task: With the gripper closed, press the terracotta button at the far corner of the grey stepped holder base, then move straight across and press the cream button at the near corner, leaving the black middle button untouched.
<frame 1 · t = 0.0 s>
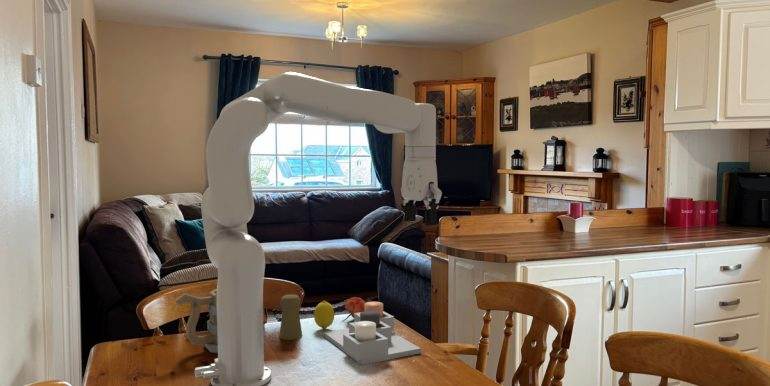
hand: (420, 223, 141), 31 cm above the table, tool pointing down, fingers open, 9 cm apart
cream button: (365, 332, 135), point 6 cm above the table, slide at 0.0 cm
olive green shaker: (290, 336, 151), on the table
lemon: (324, 330, 156), on the table
tankard: (218, 348, 142), on the table
grey stepped holder base: (369, 344, 144), on the table
red flower: (355, 321, 164), on the table
black button: (369, 321, 144), point 6 cm above the table, slide at 0.0 cm
terracotta button: (373, 311, 153), point 6 cm above the table, slide at 0.0 cm
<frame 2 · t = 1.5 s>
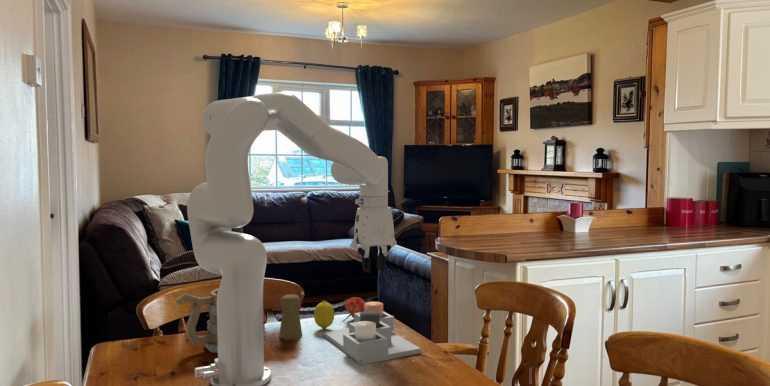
hand: (373, 270, 152), 17 cm above the table, tool pointing down, fingers open, 3 cm apart
nothing on the table moved.
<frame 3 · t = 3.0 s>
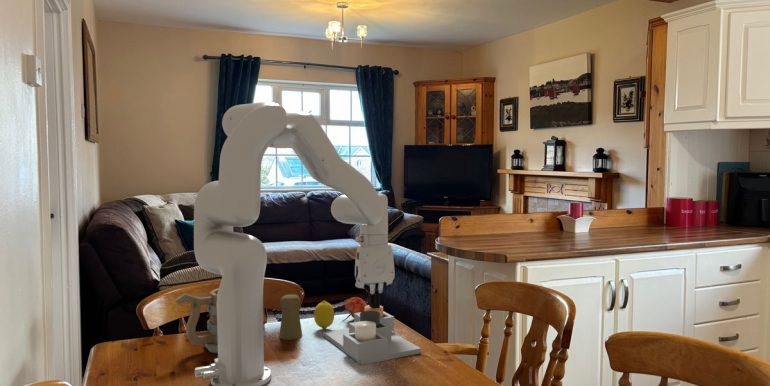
hand: (374, 306, 153), 7 cm above the table, tool pointing down, fingers closed
terracotta button: (373, 314, 153), point 5 cm above the table, slide at 0.9 cm, touching gripper
everything else where it was.
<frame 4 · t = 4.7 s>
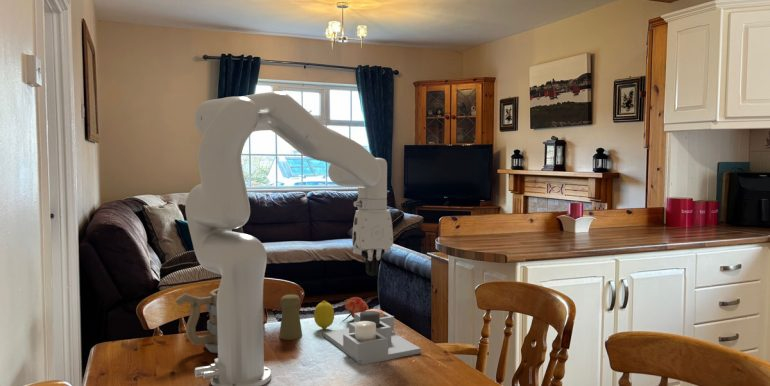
hand: (372, 274, 149), 17 cm above the table, tool pointing down, fingers closed
terracotta button: (373, 318, 153), point 4 cm above the table, slide at 2.1 cm
everything else where it was.
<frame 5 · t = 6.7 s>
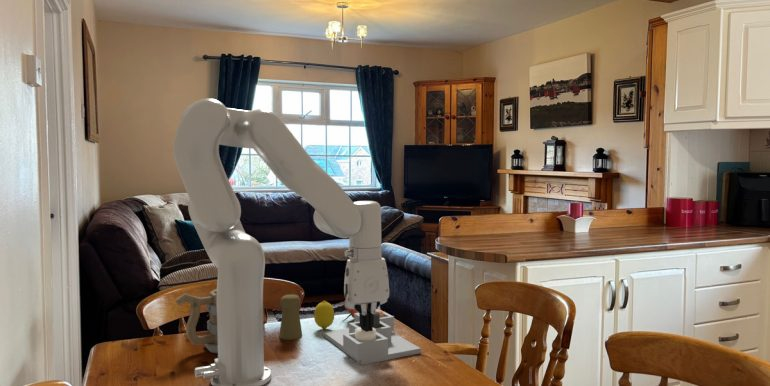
hand: (366, 329, 135), 7 cm above the table, tool pointing down, fingers closed
cream button: (365, 338, 135), point 5 cm above the table, slide at 1.4 cm, touching gripper
everything else where it was.
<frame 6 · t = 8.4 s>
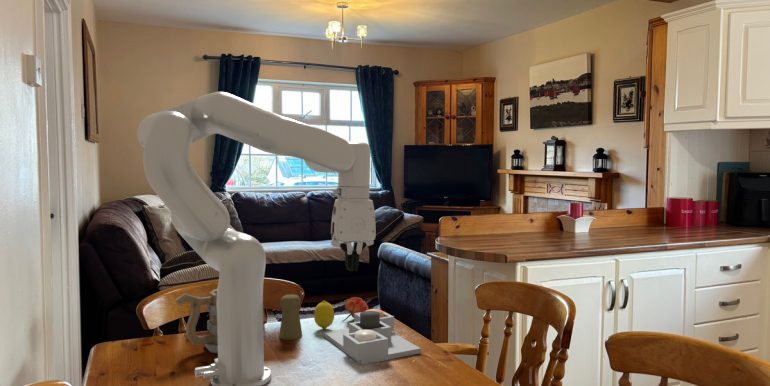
hand: (351, 269, 136), 21 cm above the table, tool pointing down, fingers closed
cream button: (365, 341, 135), point 4 cm above the table, slide at 2.1 cm
everything else where it was.
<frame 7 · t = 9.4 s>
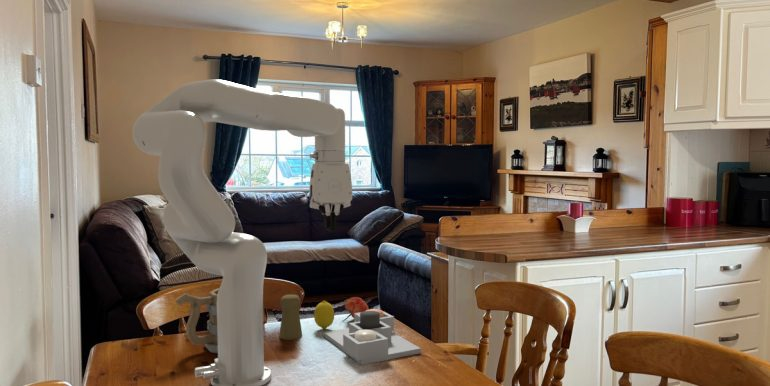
hand: (330, 230, 142), 29 cm above the table, tool pointing down, fingers closed
nothing on the table moved.
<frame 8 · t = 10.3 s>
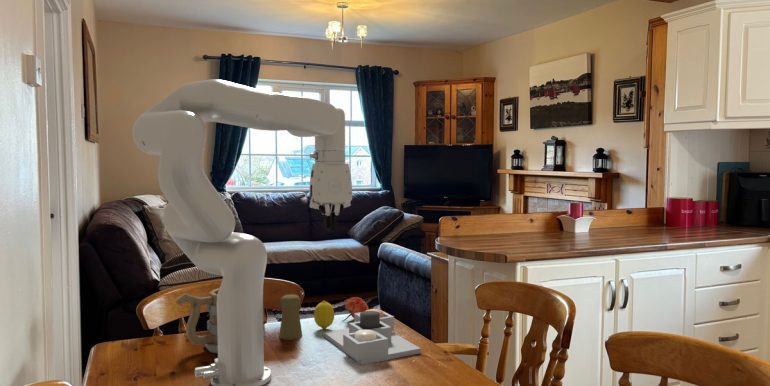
hand: (330, 230, 142), 29 cm above the table, tool pointing down, fingers closed
nothing on the table moved.
at the end: terracotta button slide at 2.1 cm; cream button slide at 2.1 cm; black button slide at 0.0 cm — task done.
